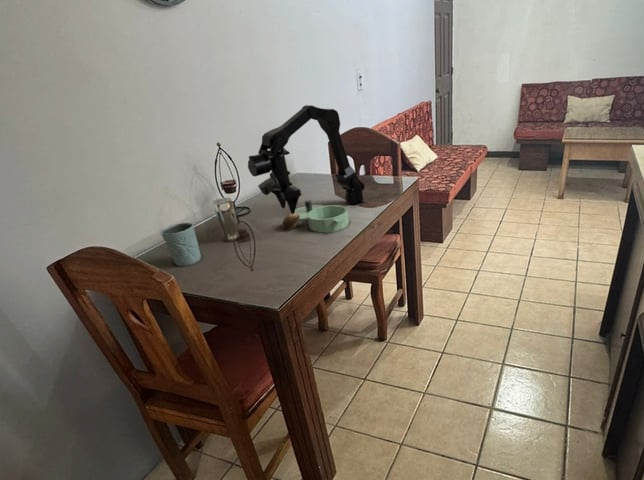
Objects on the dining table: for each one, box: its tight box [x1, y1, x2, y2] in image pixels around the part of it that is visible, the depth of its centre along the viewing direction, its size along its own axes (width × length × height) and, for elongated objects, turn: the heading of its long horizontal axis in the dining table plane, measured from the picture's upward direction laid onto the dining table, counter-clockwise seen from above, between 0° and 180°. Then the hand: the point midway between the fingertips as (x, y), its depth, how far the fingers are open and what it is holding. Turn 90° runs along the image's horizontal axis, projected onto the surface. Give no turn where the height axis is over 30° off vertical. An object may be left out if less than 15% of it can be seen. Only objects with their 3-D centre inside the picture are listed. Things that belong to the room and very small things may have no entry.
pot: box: [307, 204, 350, 234], centre depth 161 cm, size 15×21×5 cm
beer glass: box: [212, 196, 242, 243], centre depth 156 cm, size 7×7×15 cm
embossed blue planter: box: [160, 222, 202, 267], centre depth 143 cm, size 10×10×12 cm
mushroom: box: [282, 213, 302, 231], centre depth 161 cm, size 8×8×6 cm
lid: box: [289, 199, 325, 221], centre depth 173 cm, size 16×16×6 cm
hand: (288, 210), depth 159 cm, fingers open, 9 cm apart
